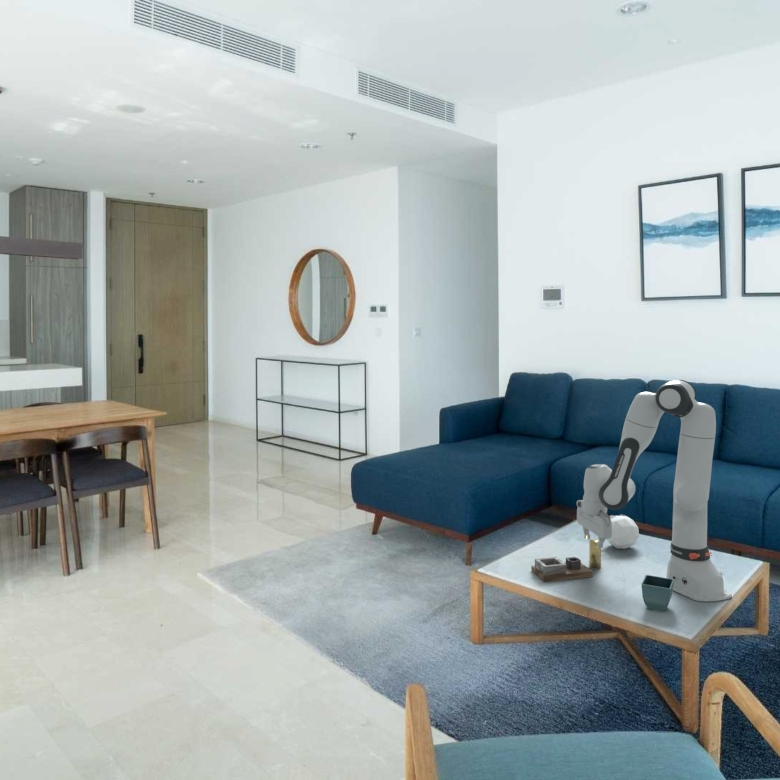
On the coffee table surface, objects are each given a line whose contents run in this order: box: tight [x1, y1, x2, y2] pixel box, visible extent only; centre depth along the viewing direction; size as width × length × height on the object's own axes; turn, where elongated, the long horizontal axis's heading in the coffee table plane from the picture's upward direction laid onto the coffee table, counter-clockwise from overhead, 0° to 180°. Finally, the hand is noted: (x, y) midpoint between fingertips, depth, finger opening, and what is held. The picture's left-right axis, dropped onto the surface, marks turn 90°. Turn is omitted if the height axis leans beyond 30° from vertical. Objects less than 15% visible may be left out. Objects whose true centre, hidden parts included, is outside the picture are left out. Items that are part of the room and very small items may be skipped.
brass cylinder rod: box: [588, 538, 602, 570], centre depth 258 cm, size 4×4×10 cm
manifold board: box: [530, 556, 594, 583], centre depth 252 cm, size 11×19×5 cm, turn 102°
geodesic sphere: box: [606, 513, 640, 550], centre depth 279 cm, size 14×14×14 cm
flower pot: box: [641, 574, 674, 613], centre depth 221 cm, size 9×9×9 cm
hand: (593, 542), depth 258 cm, fingers open, 8 cm apart
